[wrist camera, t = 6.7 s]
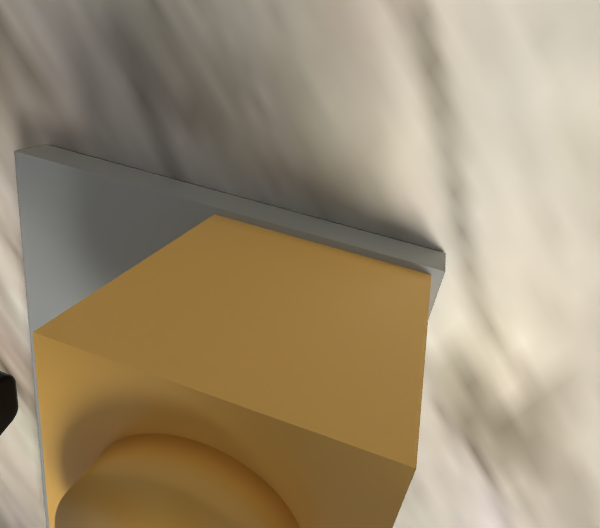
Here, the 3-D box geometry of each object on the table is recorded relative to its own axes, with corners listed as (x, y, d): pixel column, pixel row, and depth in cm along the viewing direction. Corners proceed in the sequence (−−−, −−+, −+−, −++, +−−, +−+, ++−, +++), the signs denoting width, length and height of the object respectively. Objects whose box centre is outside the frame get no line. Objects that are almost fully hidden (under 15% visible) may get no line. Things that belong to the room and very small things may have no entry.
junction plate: (312, 636, 20) (271, 809, 15) (67, 528, 22) (-33, 651, 17) (445, 253, 12) (443, 370, 7) (46, 144, 14) (-146, 183, 10)
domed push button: (373, 445, 14) (314, 751, 8) (197, 383, 15) (19, 609, 9) (431, 275, 11) (412, 525, 5) (214, 214, 12) (-16, 362, 6)
